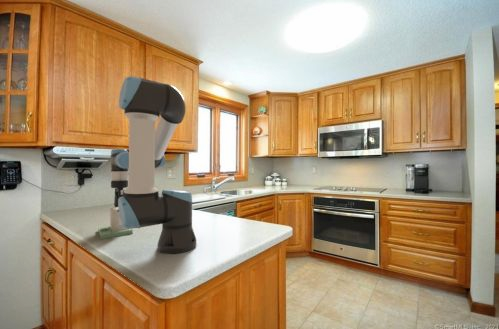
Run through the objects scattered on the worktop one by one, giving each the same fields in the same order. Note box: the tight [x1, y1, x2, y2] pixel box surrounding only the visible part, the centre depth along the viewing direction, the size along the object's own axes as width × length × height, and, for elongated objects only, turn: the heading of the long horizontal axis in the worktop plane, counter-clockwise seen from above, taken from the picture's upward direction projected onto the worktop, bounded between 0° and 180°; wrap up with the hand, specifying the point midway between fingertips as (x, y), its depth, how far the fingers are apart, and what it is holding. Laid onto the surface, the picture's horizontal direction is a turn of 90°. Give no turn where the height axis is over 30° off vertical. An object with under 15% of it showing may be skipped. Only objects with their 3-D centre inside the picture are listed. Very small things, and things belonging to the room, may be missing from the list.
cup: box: [109, 206, 130, 232], centre depth 114 cm, size 8×8×12 cm
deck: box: [97, 225, 134, 240], centre depth 113 cm, size 16×13×3 cm
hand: (119, 222), depth 114 cm, fingers open, 13 cm apart
